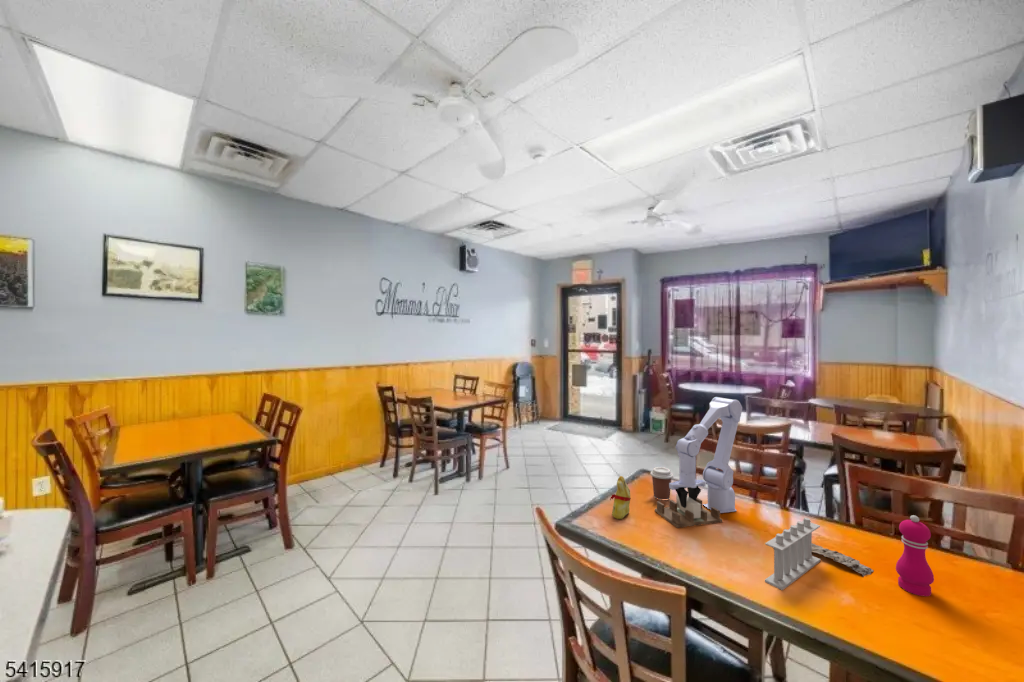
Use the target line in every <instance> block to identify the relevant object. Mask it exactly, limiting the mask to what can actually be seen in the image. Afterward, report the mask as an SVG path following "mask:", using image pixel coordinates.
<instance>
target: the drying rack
mask: <svg viewBox="0 0 1024 682" xmlns="http://www.w3.org/2000/svg"><path fill="white" fill-rule="evenodd" d="M696 502H698V503H700V504H701V518H694V514H693V513H691V512H690V511H688V510H685V512H683V511H682V510H680V509H679V508H677V503H676V501H675V500H673V499H669V500H668V503H669V504H668V505H669V506H668V507H665V504H664V503H662V501H660V500H658V501H656V508H654V512H655V513H656V512H657V513H656V514H657V515H659V516H660V515H661V516H660V517H661V518H663V517H664V518H663V519H664V520H666V521H667V522H668V523H669V524H671V525H673V526H674V527H675V528H677V529H679V528H680V527H681V528H687V526H689V527H695V526H694V525H696V526H702V525H701V524H704V525H711V524H710V523H712V524H717V523H718V522H719V523H723V519H722V518H721V513H720V511H719V510H718V509H716V508H714V507H711V510H710V511H709V509H708V510H707V508H704V506H703V500H702V499H701V498H699V497H697V499H696ZM681 528H680V529H681Z"/></svg>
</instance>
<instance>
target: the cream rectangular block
mask: <svg viewBox="0 0 1024 682" xmlns="http://www.w3.org/2000/svg"><path fill="white" fill-rule="evenodd" d="M675 502H676V503H677V508H679V509H680V510H682V511H683V512H685V510H688V511H690V512H691V513H693V514H694V518H701V504H700V503H698V502H696V501H695V500H693V499H691V498H690V497H689V495H687V500H686V508H684V507H682V506H681V503H680V500H679V497H678V494H677V493H676V501H675Z"/></svg>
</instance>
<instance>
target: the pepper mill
mask: <svg viewBox="0 0 1024 682" xmlns="http://www.w3.org/2000/svg"><path fill="white" fill-rule="evenodd" d="M898 530H899V532H900V534H902V535H901V542H902V543H903V546H904V547H903V552H902V554H901V556H900V557H899V558H898V560H897V562H896V565H895V571H896V572H897V574H898V575H899V577H898V578H897V581H898V582H897V583H898V584H897V585H898V586H899V587H900V588H901V587H902V588H903V590H904V589H905V590H904V591H906V592H908V593H910V594H912V595H916V596H921V597H930V596H932V595H931V594H932V587H931V585H932V584H934V581H935V577H934V574H933V570H932V568H931V566H930V565H929V563H928V561H927V558H926V550H928V548H929V546H928V545H929V543H928V541H929V540H930V539H931V536H932V533H931V530H930V529H929V527H928V526H927V525H926V524H924V523H923V522H921V521H920V517H918V516H917V515H916V514H915V515H914V514H913V515H910V516H909V519H904V520H902V521H901V522H900V523H899V526H898ZM902 588H901V589H902Z"/></svg>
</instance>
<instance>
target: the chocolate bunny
mask: <svg viewBox="0 0 1024 682" xmlns="http://www.w3.org/2000/svg"><path fill="white" fill-rule="evenodd" d="M616 487H617V488H616V492H615V493H612V494H611V497H610V499H609V500H610V501H611V500H613V505H612V512H611V516H612V517H613V518H615V519H617V520H623V519H624V518H625V517H626V516H627V515H628V514H629V513H630V503H631V490H630V487H629V486H628V484H627V482H626V479H625V477H624V476H622V475H619V477H618V478H617V480H616Z"/></svg>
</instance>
